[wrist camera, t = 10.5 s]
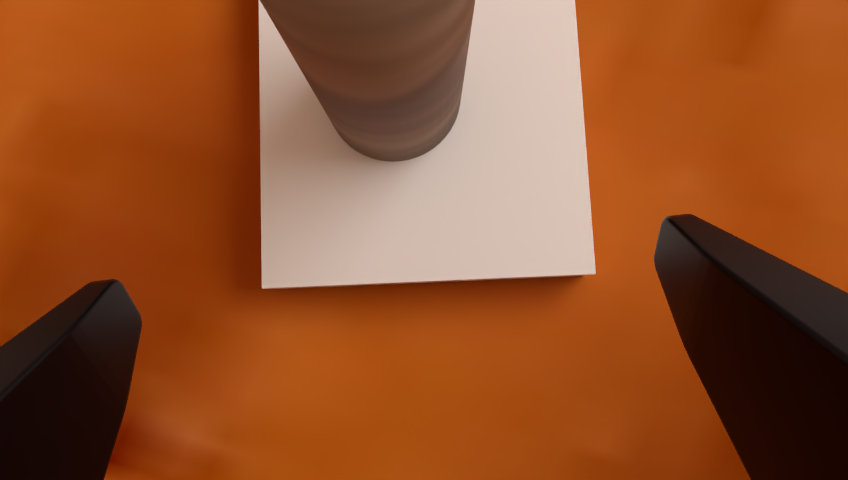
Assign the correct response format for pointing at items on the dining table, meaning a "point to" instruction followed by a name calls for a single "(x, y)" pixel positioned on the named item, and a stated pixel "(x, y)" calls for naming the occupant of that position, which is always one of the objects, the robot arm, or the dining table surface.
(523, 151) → the stone slab
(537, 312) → the dining table surface
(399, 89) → the walnut roller
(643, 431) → the dining table surface
